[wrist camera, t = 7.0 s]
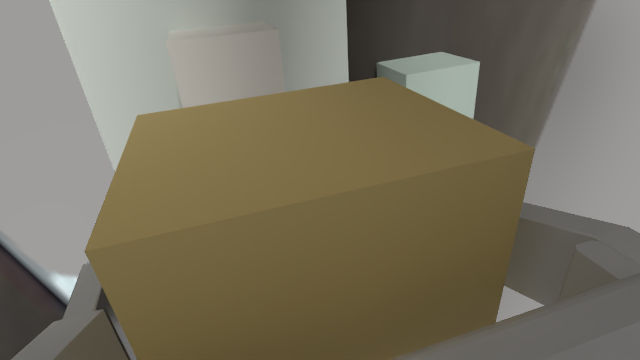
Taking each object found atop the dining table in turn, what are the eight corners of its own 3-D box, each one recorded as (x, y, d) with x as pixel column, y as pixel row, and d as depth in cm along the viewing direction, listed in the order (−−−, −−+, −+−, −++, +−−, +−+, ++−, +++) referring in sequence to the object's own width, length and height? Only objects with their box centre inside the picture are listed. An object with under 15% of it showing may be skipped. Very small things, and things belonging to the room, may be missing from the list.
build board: (27, -76, 20) (-28, -96, 15) (336, -88, 25) (376, -108, 19) (131, 201, 29) (118, 249, 24) (346, 158, 33) (375, 190, 28)
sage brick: (375, 62, 30) (406, 75, 26) (440, 51, 32) (479, 62, 27) (377, 131, 33) (404, 152, 29) (436, 118, 34) (471, 137, 30)
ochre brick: (137, 115, 8) (84, 251, 4) (383, 76, 10) (535, 148, 5) (199, 306, 11) (206, 501, 7) (381, 255, 13) (479, 392, 8)
